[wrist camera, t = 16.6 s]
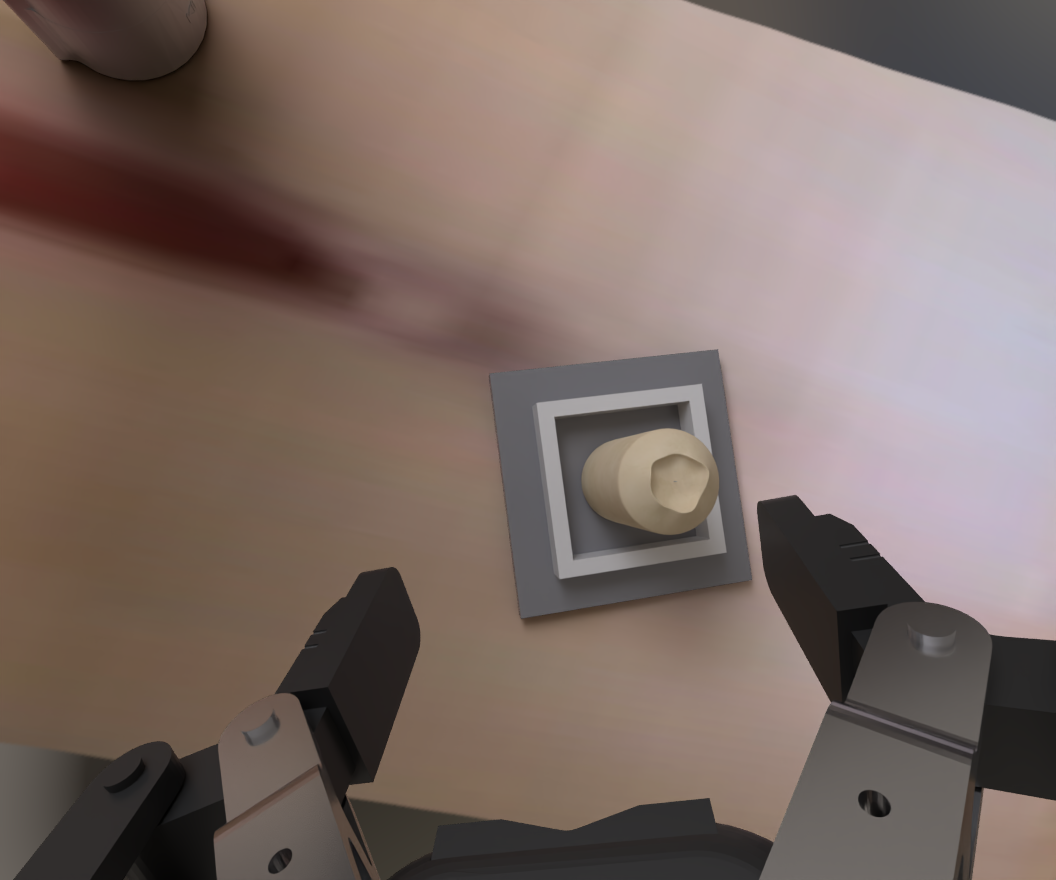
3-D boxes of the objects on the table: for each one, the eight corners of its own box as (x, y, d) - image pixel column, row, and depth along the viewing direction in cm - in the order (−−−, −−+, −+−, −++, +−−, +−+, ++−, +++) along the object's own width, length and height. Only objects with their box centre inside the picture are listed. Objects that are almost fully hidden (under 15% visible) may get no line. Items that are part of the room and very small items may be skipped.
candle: (647, 430, 38) (716, 413, 28) (669, 509, 38) (746, 520, 28) (570, 451, 37) (613, 441, 27) (592, 532, 37) (643, 551, 27)
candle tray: (519, 614, 37) (524, 626, 34) (489, 376, 38) (491, 367, 35) (744, 577, 39) (768, 585, 36) (711, 352, 40) (731, 342, 37)
